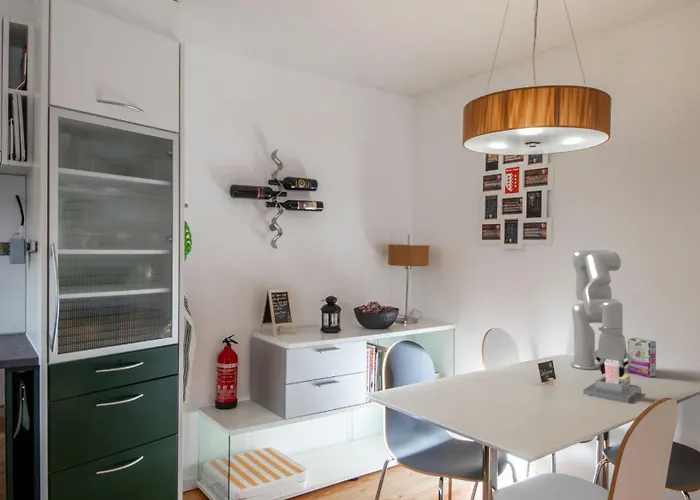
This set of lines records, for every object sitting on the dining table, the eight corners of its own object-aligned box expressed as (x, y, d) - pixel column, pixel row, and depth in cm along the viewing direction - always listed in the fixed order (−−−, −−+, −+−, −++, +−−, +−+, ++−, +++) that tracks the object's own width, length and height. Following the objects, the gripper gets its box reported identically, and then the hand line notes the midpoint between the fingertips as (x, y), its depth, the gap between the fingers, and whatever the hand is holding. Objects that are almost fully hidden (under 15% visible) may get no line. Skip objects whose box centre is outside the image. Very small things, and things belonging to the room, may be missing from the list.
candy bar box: (656, 376, 239) (656, 341, 239) (649, 377, 237) (649, 342, 237) (634, 371, 249) (634, 337, 249) (627, 372, 247) (627, 338, 247)
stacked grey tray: (597, 385, 225) (597, 373, 225) (641, 393, 213) (641, 380, 213) (583, 394, 213) (583, 381, 212) (628, 403, 201) (628, 388, 201)
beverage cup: (606, 381, 217) (605, 348, 217) (622, 383, 213) (622, 349, 213) (602, 384, 212) (602, 350, 212) (618, 387, 208) (618, 352, 208)
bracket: (616, 382, 229) (616, 370, 229) (636, 386, 224) (636, 373, 224) (606, 389, 219) (606, 376, 219) (626, 393, 214) (626, 379, 214)
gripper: (587, 330, 216) (587, 373, 216) (632, 335, 204) (632, 380, 204) (593, 328, 221) (593, 369, 221) (638, 332, 209) (638, 377, 209)
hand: (612, 374), depth 213 cm, fingers closed on beverage cup, 6 cm apart
